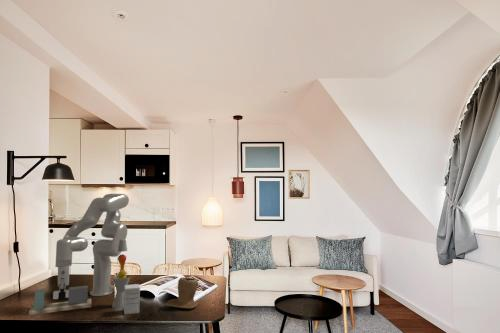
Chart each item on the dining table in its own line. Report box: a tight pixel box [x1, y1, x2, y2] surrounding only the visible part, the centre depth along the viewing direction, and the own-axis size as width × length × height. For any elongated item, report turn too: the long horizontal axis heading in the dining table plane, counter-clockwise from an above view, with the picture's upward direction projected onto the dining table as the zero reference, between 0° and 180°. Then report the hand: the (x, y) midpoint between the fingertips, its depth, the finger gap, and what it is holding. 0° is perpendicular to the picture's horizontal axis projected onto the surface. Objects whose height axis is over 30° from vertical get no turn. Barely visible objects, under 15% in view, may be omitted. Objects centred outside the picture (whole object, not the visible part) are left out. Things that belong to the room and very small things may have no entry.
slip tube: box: [52, 289, 69, 300], centre depth 179 cm, size 16×3×3 cm, turn 116°
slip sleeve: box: [67, 285, 89, 306], centre depth 180 cm, size 9×5×8 cm, turn 116°
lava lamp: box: [111, 239, 131, 309], centre depth 182 cm, size 9×9×35 cm
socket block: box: [33, 288, 46, 310], centre depth 173 cm, size 4×7×8 cm, turn 26°
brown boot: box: [165, 276, 199, 310], centre depth 181 cm, size 15×12×15 cm
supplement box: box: [123, 283, 141, 315], centre depth 173 cm, size 7×7×13 cm
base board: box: [28, 298, 93, 316], centre depth 177 cm, size 28×10×2 cm, turn 116°
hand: (62, 298), depth 177 cm, fingers closed on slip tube, 3 cm apart
